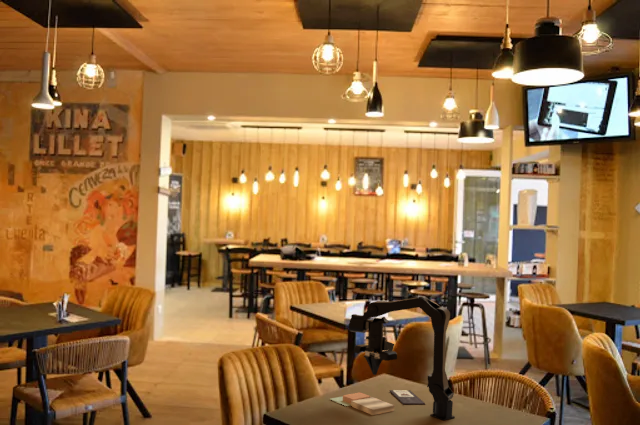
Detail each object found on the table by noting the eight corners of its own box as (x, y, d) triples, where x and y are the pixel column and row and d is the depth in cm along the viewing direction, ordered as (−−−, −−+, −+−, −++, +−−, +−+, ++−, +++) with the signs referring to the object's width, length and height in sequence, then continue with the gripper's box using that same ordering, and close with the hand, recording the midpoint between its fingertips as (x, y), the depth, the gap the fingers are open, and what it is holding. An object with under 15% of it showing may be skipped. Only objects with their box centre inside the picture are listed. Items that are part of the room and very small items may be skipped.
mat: (375, 401, 241) (375, 400, 241) (346, 406, 232) (346, 405, 232) (358, 394, 249) (358, 393, 249) (329, 399, 239) (329, 398, 239)
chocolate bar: (403, 403, 238) (389, 390, 256) (403, 405, 238) (389, 392, 256) (425, 403, 240) (410, 390, 258) (425, 405, 240) (410, 392, 258)
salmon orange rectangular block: (370, 401, 239) (370, 396, 239) (352, 404, 233) (353, 399, 233) (359, 397, 243) (360, 392, 243) (342, 400, 238) (342, 395, 238)
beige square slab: (394, 410, 230) (394, 405, 230) (372, 415, 223) (372, 409, 223) (372, 402, 239) (372, 397, 239) (350, 406, 232) (351, 401, 232)
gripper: (407, 335, 235) (406, 376, 235) (374, 328, 250) (373, 367, 249) (387, 338, 228) (386, 380, 228) (353, 331, 243) (352, 370, 243)
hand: (374, 374), depth 237 cm, fingers closed
